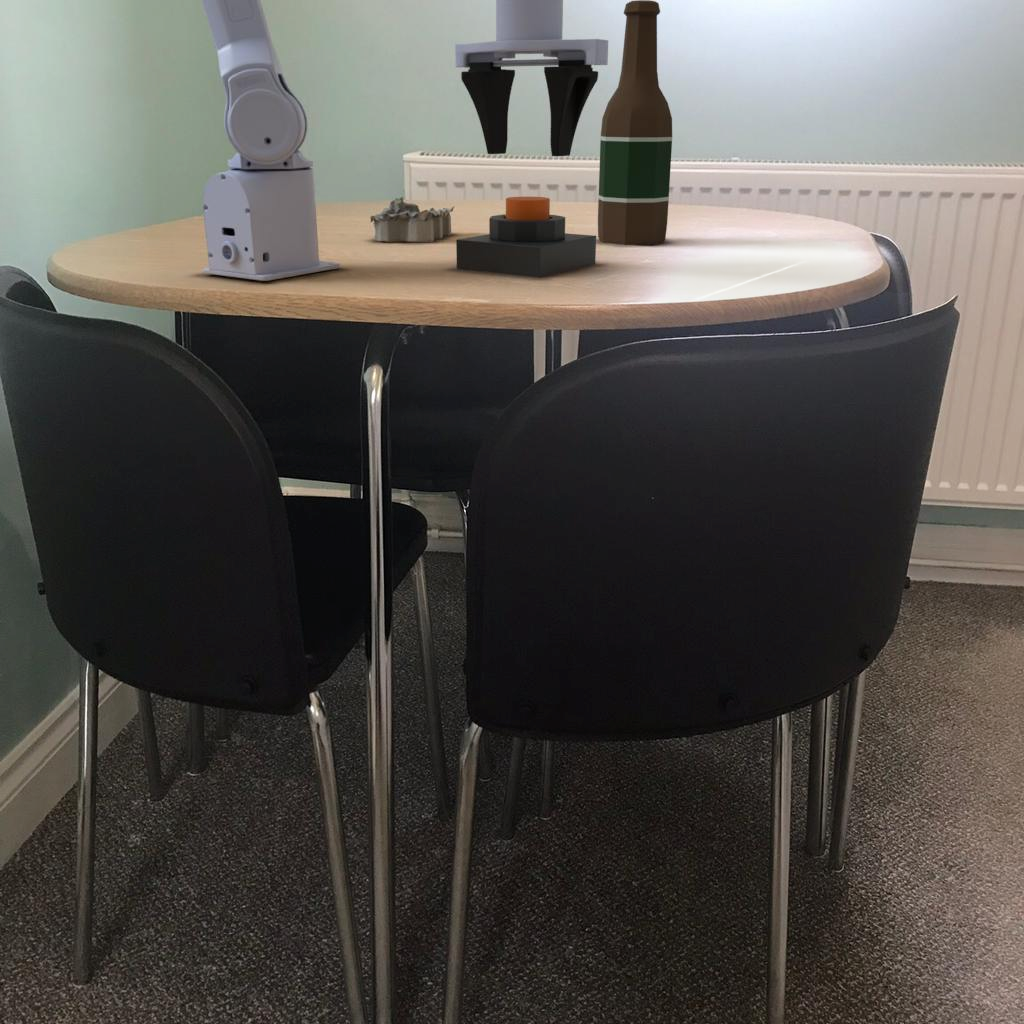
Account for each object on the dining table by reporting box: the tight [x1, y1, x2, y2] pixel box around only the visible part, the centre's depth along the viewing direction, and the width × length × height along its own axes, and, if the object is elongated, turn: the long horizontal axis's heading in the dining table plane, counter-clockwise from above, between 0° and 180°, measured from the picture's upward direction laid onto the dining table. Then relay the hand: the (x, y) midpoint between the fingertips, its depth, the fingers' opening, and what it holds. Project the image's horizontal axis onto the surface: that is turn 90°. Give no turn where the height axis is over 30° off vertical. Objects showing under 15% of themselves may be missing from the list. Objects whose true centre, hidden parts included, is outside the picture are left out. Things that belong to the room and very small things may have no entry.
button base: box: [455, 213, 597, 279], centre depth 94 cm, size 10×9×4 cm
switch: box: [505, 196, 551, 220], centre depth 93 cm, size 4×4×2 cm
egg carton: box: [369, 196, 455, 243], centre depth 115 cm, size 11×8×4 cm
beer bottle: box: [597, 0, 673, 246], centre depth 108 cm, size 8×8×24 cm
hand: (528, 155), depth 91 cm, fingers open, 6 cm apart
